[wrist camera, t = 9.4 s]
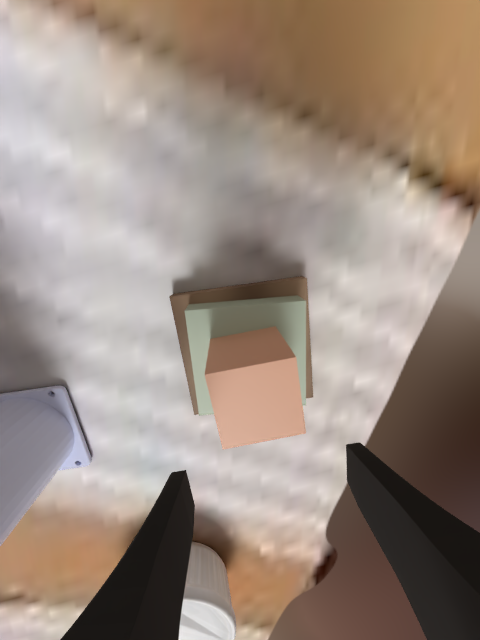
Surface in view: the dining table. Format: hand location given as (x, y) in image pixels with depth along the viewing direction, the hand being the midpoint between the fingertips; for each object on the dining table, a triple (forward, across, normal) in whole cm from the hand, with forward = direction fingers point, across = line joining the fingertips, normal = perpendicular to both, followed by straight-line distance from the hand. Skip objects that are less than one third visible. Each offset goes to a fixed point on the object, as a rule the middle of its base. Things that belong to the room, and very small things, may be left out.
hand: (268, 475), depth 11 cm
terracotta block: (+7, 0, -2) cm, 7 cm away
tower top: (+9, 0, -2) cm, 9 cm away
